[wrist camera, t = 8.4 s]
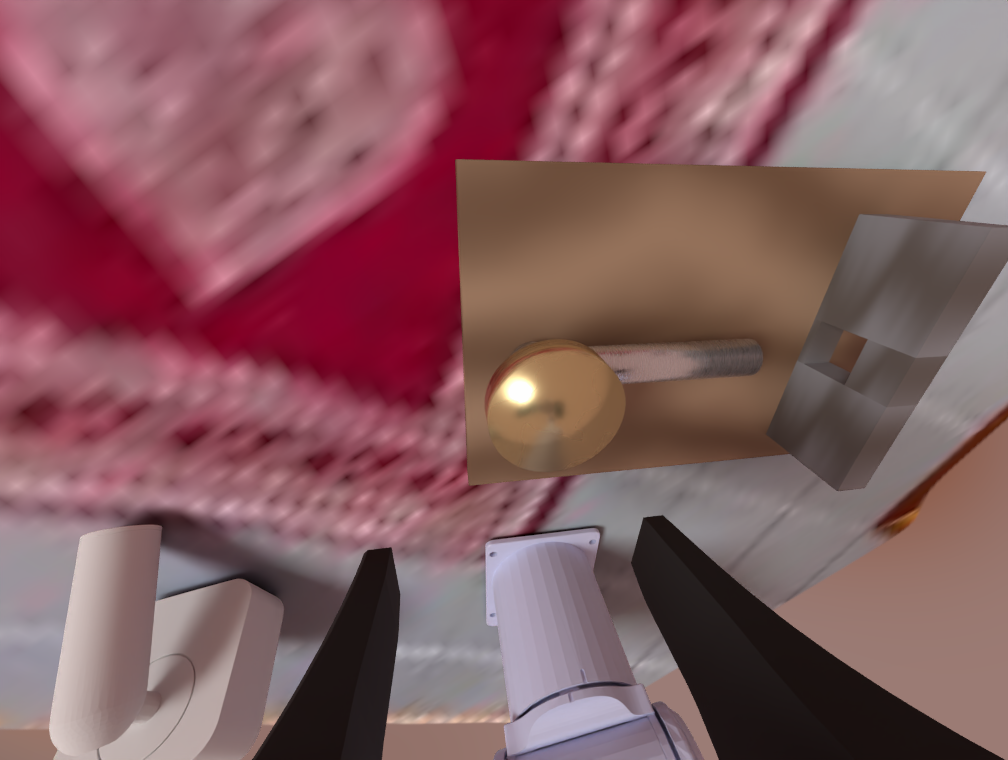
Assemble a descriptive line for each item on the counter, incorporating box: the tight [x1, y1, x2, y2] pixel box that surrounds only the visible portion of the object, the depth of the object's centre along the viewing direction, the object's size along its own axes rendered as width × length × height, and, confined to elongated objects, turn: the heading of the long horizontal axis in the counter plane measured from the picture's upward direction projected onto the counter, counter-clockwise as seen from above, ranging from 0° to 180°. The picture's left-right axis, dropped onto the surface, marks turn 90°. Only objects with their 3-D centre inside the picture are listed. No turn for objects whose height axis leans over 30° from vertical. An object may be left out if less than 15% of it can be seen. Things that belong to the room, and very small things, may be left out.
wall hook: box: [49, 525, 284, 760], centre depth 19 cm, size 8×10×10 cm
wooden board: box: [455, 159, 1008, 491], centre depth 18 cm, size 16×24×6 cm, turn 89°
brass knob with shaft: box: [484, 339, 763, 472], centre depth 16 cm, size 5×13×5 cm, turn 89°
